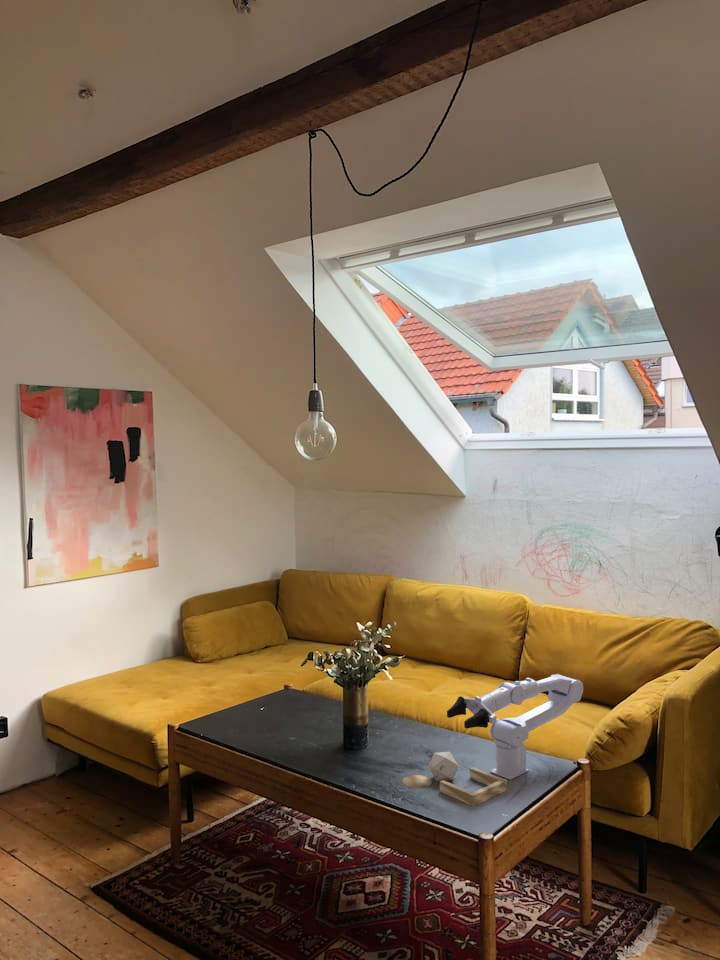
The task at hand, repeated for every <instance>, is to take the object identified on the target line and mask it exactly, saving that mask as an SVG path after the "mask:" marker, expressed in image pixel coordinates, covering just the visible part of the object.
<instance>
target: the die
mask: <svg viewBox="0 0 720 960" xmlns="http://www.w3.org/2000/svg"><path fill="white" fill-rule="evenodd" d="M458 767H459V764H458V763H457V761H456V759H455V758H454V756H453V754H452V753H451V752H450V751H441V752H440V751H438V752H433V755H432V757H431V759H430V762H429V764H428V769H429V770H430V773H431V774H432V776H433V778H434V779H435V781H436V782H440V781H442V780H444V781H453V780H454V778H455V775H456V772H457V770H458Z"/></svg>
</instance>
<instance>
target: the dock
mask: <svg viewBox="0 0 720 960" xmlns="http://www.w3.org/2000/svg"><path fill="white" fill-rule="evenodd" d="M469 779H471V780H474V781H476V782H478V783H481V784H483V785H487V786H484V787H482V788H480V789H478V790H475V791H474V792H472V791H470V790H468V789H465V788H463V787H461V786H459V785H458V786H457V785H456V784H453V783H451V782H449V781H447V780H445V781H444V780H442V781H439V792H440V793H442V794H444V795H447V796H449V797H451V798H454V799H456V800H458V801H461V802H462V803H465V804H467V805H469V806H472V807H475V806H477V805H480V804H482V803H483V802H486V801H488V800H490V799H491V798H495V797H496V796H498V795H500V794H502V793H504V792H506V791H508V779H506V778H504V777H503V778H502V777H501V776H498V775H496V774H493V773H491V772H490V773H489V772H486V771H484V770H481V769H479V768H476V767H473V766H472V767H470V768H469Z"/></svg>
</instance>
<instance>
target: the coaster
mask: <svg viewBox="0 0 720 960" xmlns="http://www.w3.org/2000/svg"><path fill="white" fill-rule="evenodd" d="M401 783H402V785H404V786H405V787H407V788H410V789H411V788H412V789H424V788H425V789H426V788H427V787H430V786H431V785H432V783H433V782H432V779H431V778H430V777H428V776H425V775H422V774H421V775H419V774H413V775H408V776H405V777H404V778H402V781H401Z"/></svg>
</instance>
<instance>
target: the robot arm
mask: <svg viewBox="0 0 720 960" xmlns="http://www.w3.org/2000/svg"><path fill="white" fill-rule="evenodd" d="M543 692H548V695H547V699H548V701H547V702H545V703H542V704H541V705H538V706H536V707H535V708H533V709H531V710H529V711H527V712H525V713H523V714H521V715H519V716H516V717H505V718H498V719H497V715H496V714H495V713H497V712H498V711H500V710H502V709H504V708H506V707H508V706H510V705H517V706H520V705H522V704H523V702H524V701H527V700H530V699H534V698H537V697H538V696H539V693H543ZM583 693H584V684H583V682H582V681H581V680H580V679H575V678H571V677H568V676H565V675H562V674H560V673H557V674H551V675H550V676H548V677H546V678H542V679H540V680H535V679H533V678H532V677H531V678H530V677H526V678H525V680H515V681H514V682H512V683H511V682H509V681H508V682H507V681H506V682H504V681H502V682H501V683H500V684H499V686H498V688H496V689H495V690H493V691H490V692H489V693H487V694H484V695H482V696H478V695H476V696H475V697H474V698H470V697H464V696H458V697H457V699H456V702H454V704H453V705H452V706H451V707H450V708H448V709H447V710H446V717H447V718H448V719H450V718H454V717H456V716H466V715H467V709H468V711H469V712H470V713H472V716H470V717H469V718H467V719H465V720H464V725H463V726H464V729H467V730H468V729H471V728H485V729H487V728H488V726H489V723H490V724H491V725H490V729H489V732H490V736H491V737H492V739H493V741H494V743H495V768H493V769H490V771H489V772H490V773H491V774H493V775H496V776H498V777H501V778H502V777H503V778H504V779H506V780H513V779H514V778H517V777H518V776H521V775H523V774H525V773H527V772H529V771H530V770H529V768H527V748H526V746H525V744H524V742H525V741H526V740H528V739H529V734H530V732H532V731H534V730H535V729H537V728H539V727H541V726H544V725H545V724H547V723H548V722H551V721H552V720H554V719H556V718H558V717H560V716H562V715H564V714H565V713H566V712H567V711H568V710H569V709H570V708H571V706H573V705H574V704H575V703H578V702H580V701H581V699H582V696H583Z"/></svg>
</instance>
